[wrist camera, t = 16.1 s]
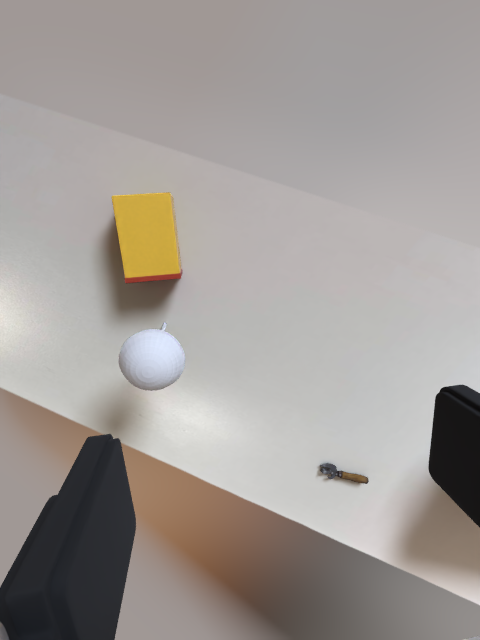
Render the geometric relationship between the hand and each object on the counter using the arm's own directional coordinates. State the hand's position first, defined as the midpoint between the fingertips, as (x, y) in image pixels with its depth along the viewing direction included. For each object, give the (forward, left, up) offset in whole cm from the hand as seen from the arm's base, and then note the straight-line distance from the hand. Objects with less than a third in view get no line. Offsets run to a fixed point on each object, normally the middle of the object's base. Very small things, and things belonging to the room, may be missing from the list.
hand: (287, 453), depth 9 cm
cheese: (-6, -7, -34) cm, 36 cm away
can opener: (+33, +18, -34) cm, 51 cm away
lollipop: (+5, -7, -34) cm, 36 cm away
